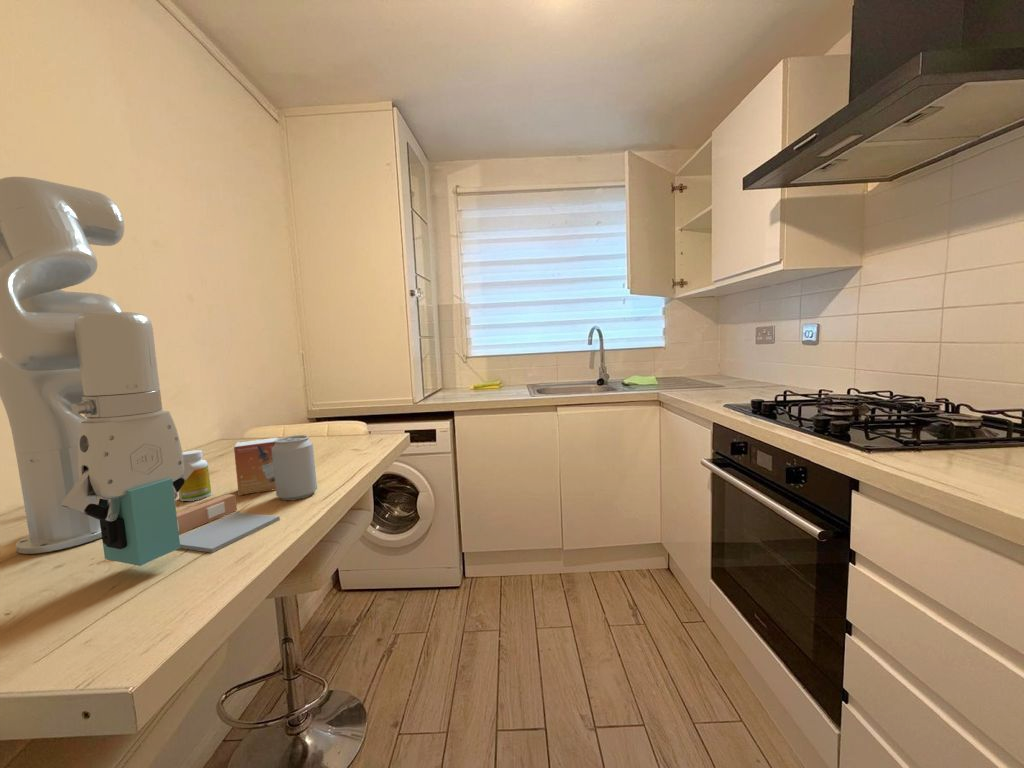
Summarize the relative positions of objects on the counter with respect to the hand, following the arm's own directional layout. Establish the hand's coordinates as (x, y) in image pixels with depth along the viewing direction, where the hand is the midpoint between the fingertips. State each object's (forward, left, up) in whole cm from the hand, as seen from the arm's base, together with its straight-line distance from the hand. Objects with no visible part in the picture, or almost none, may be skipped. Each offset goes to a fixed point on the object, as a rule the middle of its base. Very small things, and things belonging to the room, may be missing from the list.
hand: (142, 535), depth 59 cm
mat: (0, +12, -5) cm, 13 cm away
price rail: (-9, +12, -5) cm, 16 cm away
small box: (-14, +31, -5) cm, 34 cm away
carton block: (0, 0, -3) cm, 3 cm away
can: (-2, +29, -5) cm, 29 cm away
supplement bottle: (-24, +24, -5) cm, 34 cm away
